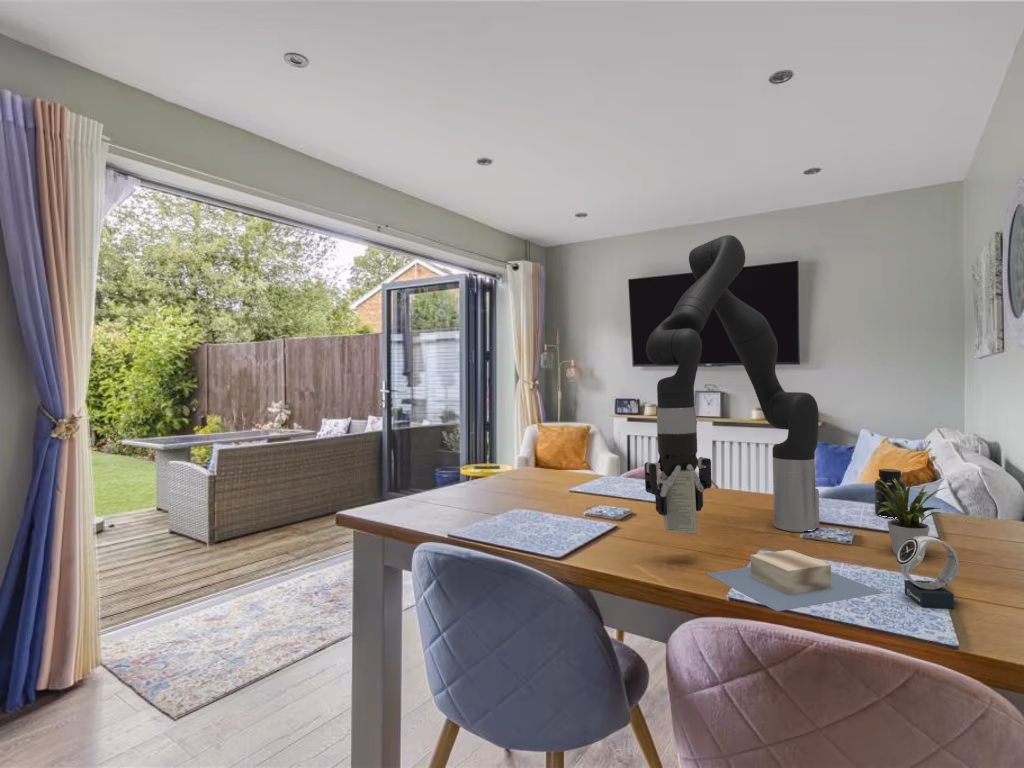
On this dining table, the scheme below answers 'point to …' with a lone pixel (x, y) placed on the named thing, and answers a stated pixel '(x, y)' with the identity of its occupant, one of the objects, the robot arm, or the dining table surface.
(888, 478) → the supplement bottle
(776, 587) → the plinth block
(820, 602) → the slate gray board
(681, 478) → the skincare box
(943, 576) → the watch
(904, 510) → the house plant
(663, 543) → the dining table surface
